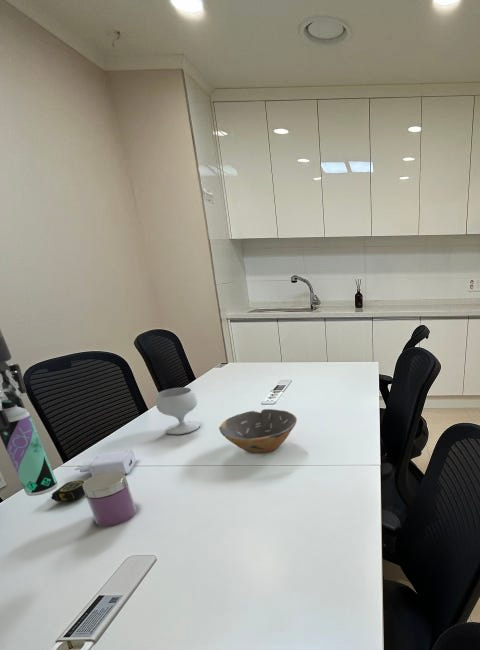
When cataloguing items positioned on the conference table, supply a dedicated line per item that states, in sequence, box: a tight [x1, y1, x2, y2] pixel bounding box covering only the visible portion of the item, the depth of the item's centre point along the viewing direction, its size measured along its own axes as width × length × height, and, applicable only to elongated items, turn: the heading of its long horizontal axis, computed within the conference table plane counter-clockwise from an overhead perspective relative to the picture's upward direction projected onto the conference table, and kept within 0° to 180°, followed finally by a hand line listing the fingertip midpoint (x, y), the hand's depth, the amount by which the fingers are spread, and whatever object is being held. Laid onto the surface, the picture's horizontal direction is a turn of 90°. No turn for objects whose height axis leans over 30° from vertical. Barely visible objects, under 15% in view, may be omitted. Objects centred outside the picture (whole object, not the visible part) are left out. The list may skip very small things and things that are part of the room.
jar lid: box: [82, 471, 128, 498], centre depth 96 cm, size 9×9×2 cm
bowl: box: [218, 408, 298, 455], centre depth 131 cm, size 25×25×10 cm
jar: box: [84, 482, 137, 527], centre depth 97 cm, size 9×9×10 cm
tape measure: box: [50, 479, 85, 503], centre depth 107 cm, size 7×7×4 cm
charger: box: [74, 449, 137, 477], centre depth 120 cm, size 5×9×15 cm
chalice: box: [155, 387, 201, 435], centre depth 148 cm, size 14×14×15 cm
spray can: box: [0, 399, 59, 497], centre depth 79 cm, size 6×6×20 cm
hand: (12, 422), depth 77 cm, fingers closed on spray can, 5 cm apart
